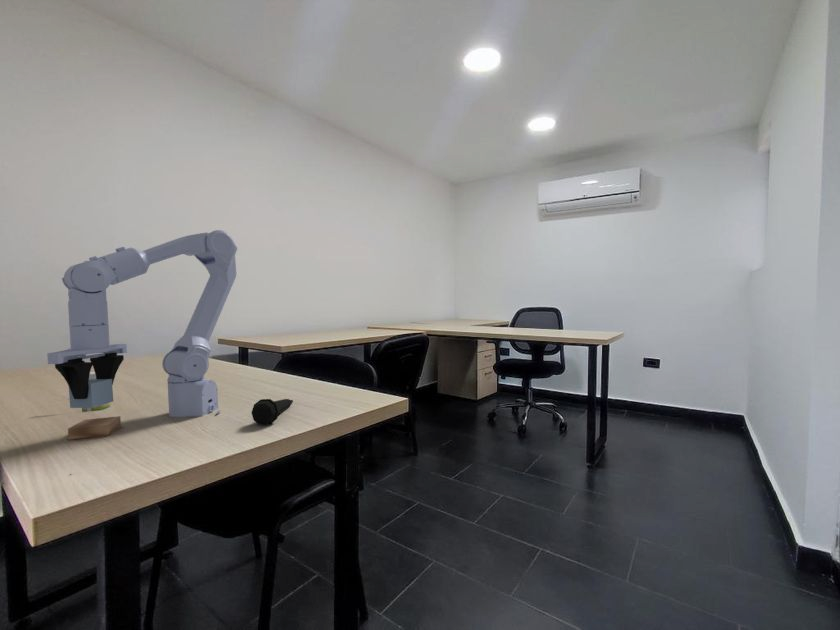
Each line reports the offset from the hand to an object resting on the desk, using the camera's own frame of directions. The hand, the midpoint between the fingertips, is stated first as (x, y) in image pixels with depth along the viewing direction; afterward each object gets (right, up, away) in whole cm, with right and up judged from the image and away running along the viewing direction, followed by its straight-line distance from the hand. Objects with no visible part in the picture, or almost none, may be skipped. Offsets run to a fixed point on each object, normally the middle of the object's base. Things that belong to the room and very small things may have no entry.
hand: (93, 395), depth 74 cm
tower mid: (0, -7, 0) cm, 7 cm away
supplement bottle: (-18, -9, +21) cm, 29 cm away
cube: (0, -2, 0) cm, 2 cm away
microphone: (+31, -8, +16) cm, 35 cm away
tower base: (0, -9, 0) cm, 9 cm away
